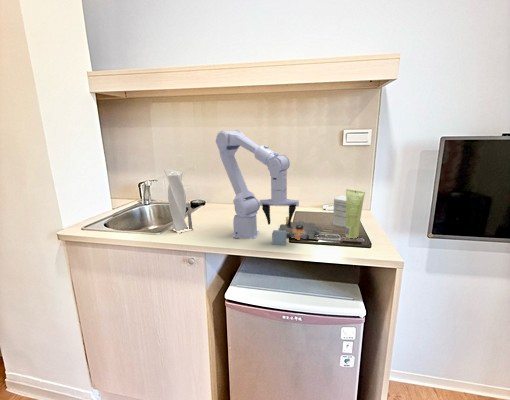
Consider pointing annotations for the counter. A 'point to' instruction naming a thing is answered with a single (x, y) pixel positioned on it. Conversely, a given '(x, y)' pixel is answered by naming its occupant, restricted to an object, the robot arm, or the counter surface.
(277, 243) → the link block
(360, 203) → the tube
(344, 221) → the supplement box
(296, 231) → the sprocket
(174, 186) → the skyscraper
